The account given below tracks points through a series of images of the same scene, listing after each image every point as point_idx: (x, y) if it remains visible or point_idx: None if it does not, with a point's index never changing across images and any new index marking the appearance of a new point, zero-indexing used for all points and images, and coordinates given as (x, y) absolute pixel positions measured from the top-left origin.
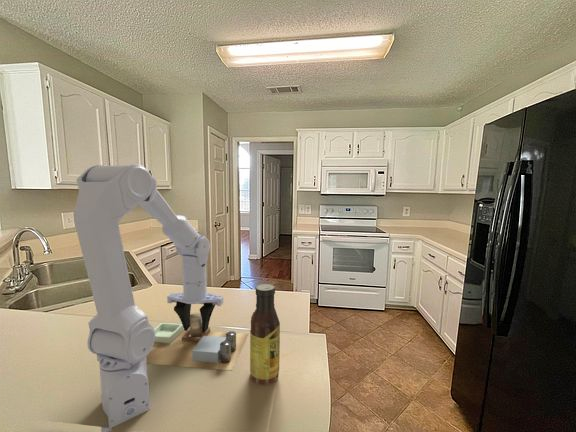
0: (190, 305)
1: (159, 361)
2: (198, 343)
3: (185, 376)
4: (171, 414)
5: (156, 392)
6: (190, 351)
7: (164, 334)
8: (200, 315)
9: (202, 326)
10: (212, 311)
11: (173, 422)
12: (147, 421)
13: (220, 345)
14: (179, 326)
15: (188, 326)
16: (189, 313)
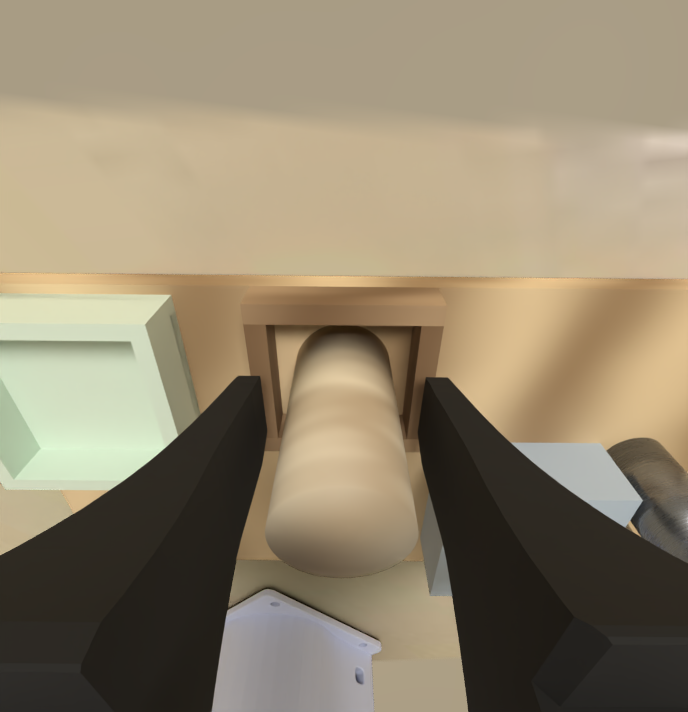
0: (164, 561)
1: (259, 550)
2: (444, 555)
3: (414, 565)
4: (432, 642)
5: (345, 609)
6: None
7: (78, 389)
8: (408, 540)
9: (431, 487)
10: (575, 497)
11: (448, 652)
12: (379, 653)
13: None
14: (144, 366)
15: (259, 415)
16: (213, 481)
